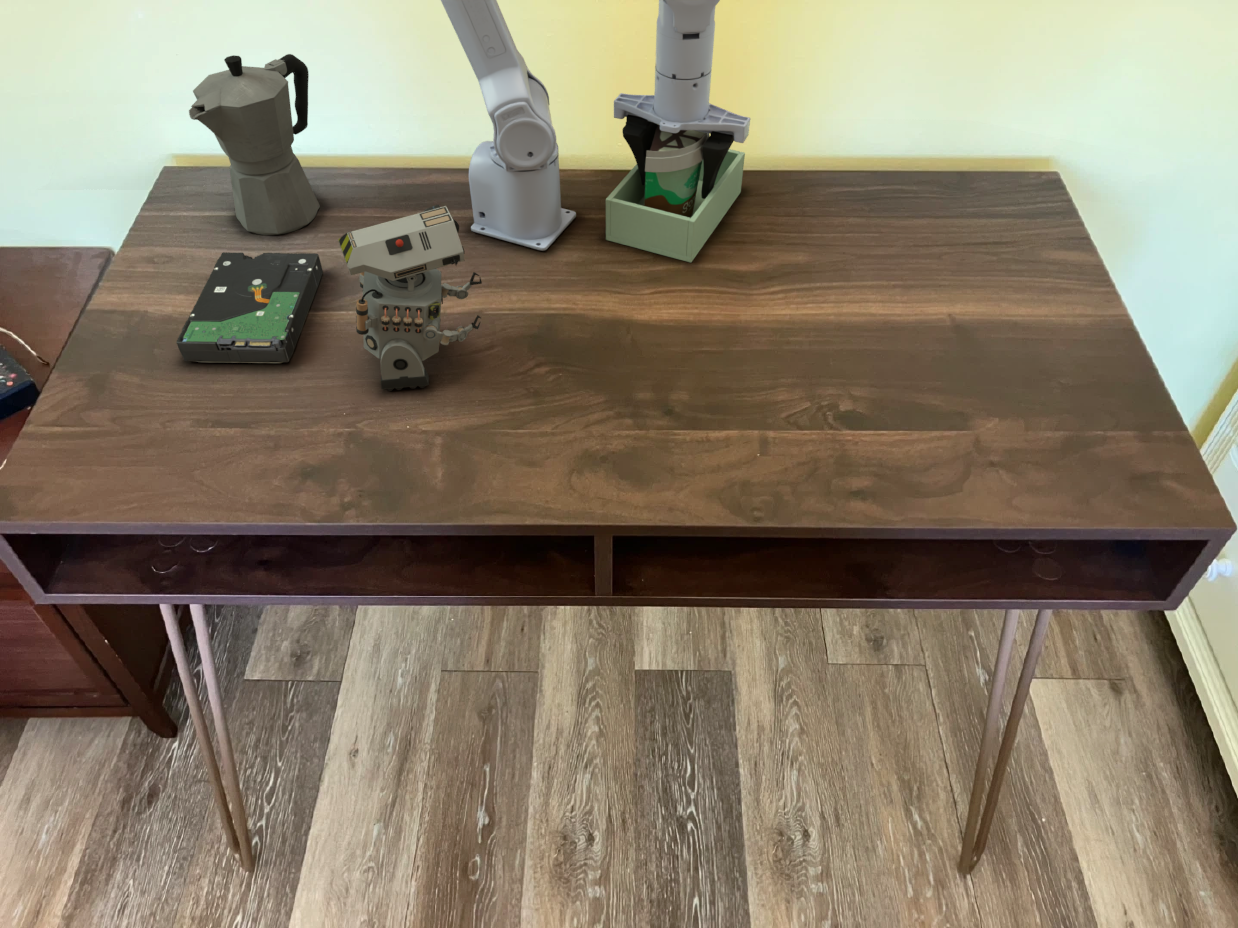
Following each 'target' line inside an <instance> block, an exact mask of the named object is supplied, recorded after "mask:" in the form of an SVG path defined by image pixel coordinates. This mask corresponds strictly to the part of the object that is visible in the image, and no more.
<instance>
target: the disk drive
mask: <svg viewBox="0 0 1238 928" xmlns="http://www.w3.org/2000/svg"><path fill="white" fill-rule="evenodd" d="M323 273H324V270H323V267H322V263H321V259H320V255H319V254H318V253H315V252H312V253H308V252H304V253H301V252H300V253H299V252H298V253H293V252H292V253H289V252H262V253H261V254H259V255H257V256H254V258H253V257H252V256H249V255H245V253H244V252H231V251H230V252H225V251H223V252H221V254H220V256H219V258H218V259H217V260H216V262H215V264H214V266H213V269H212V270H211V272H210V275H209V277H208V279H207V280H206V283H205V285H204V286H203V289H202V291H201V293H200V295H199V296H198V298H197V300H196V302H195V304H194V306H193V308H192V310H191V312H190V314H189V315H188V318H187V320H186V321H185V323H184V325H183V327H182V328H181V332H180V334H179V335H178V337H177V340H176V345H177V348H178V350H179V352H180V354H181V356H182V359H183V361H184V362H198V363H232V364H233V363H237V364H238V363H239V364H240V363H242V364H243V363H248V364H251V363H252V364H282V363H288V362H290V360H291V358H292V356H293V354H294V351H295V348H296V346H297V343H298V340H299V338H300V335H301V333H302V330H303V327H304V324H305V321H306V319H307V316H308V314H309V311H310V308H311V306H312V303H313V301H314V298H315V296H316V292H317V290H318V287H319V285H320V281H321V278H322V276H323Z"/></svg>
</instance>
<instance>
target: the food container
mask: <svg viewBox="0 0 1238 928" xmlns="http://www.w3.org/2000/svg"><path fill="white" fill-rule="evenodd" d="M710 135H711V134H710V133H705V132H699V131H694V130H680V131H679V132H678V133H670V132H665V131H661V130H660V125H658V126H657V128H656V132H655V135H654V139H653V143H652V146H651V149H650V151H647V153H646V163H645V172H646V176H645V201H644V206H646V207H650V208H654V209H658V210H662V211H666V212H670V213H674V214H678V215H682V216H685V217H689V218H690V217H691V216H692V214H693V209H694V204H695V198H696V193H697V187H698V181H699V176H700V170H701V165H702V160H703V152H702V146H703V145H704V143H705V142H706V140H707V139H708V138H709V137H710Z"/></svg>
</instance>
